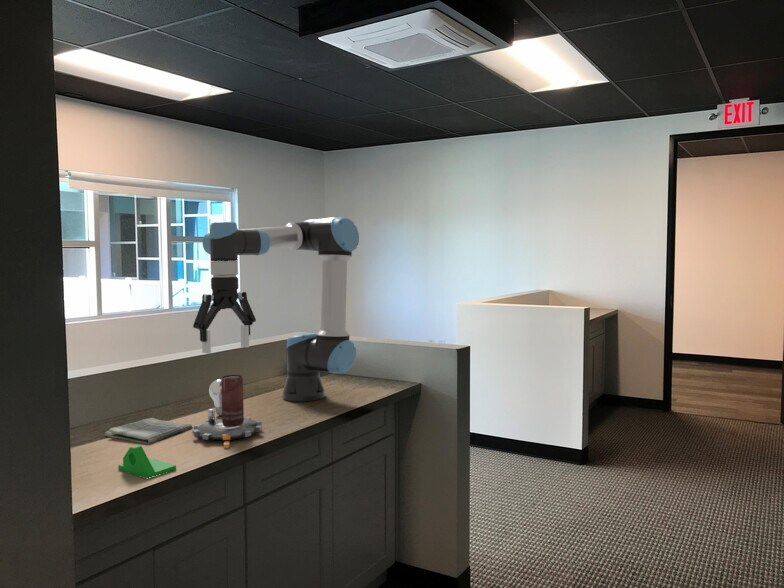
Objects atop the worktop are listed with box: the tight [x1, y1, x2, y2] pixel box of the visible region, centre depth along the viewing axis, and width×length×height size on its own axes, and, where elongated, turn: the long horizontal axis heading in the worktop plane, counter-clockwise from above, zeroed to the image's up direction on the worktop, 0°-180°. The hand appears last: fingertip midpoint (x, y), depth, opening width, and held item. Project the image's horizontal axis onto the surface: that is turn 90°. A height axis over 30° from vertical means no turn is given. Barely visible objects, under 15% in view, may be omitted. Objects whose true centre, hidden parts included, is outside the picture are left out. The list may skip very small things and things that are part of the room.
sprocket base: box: [210, 436, 244, 442], centre depth 180 cm, size 12×12×1 cm
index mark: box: [223, 440, 230, 449], centre depth 168 cm, size 3×1×1 cm, turn 13°
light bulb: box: [208, 378, 222, 417], centre depth 200 cm, size 7×7×12 cm
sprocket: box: [191, 408, 263, 441], centre depth 179 cm, size 19×20×5 cm
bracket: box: [117, 444, 177, 479], centre depth 150 cm, size 12×8×7 cm, turn 54°
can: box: [221, 374, 245, 426], centre depth 180 cm, size 6×6×14 cm
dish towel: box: [104, 417, 194, 445], centre depth 182 cm, size 19×18×3 cm
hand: (226, 350), depth 178 cm, fingers open, 13 cm apart
